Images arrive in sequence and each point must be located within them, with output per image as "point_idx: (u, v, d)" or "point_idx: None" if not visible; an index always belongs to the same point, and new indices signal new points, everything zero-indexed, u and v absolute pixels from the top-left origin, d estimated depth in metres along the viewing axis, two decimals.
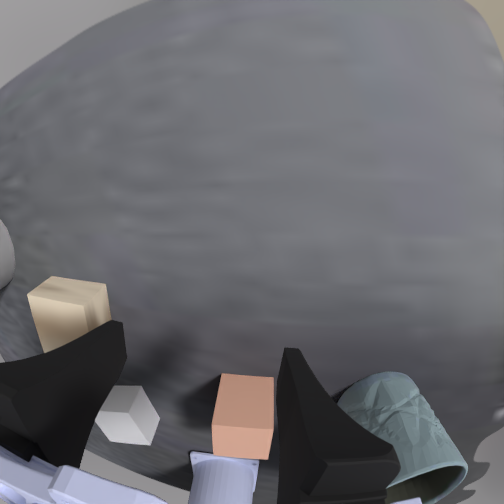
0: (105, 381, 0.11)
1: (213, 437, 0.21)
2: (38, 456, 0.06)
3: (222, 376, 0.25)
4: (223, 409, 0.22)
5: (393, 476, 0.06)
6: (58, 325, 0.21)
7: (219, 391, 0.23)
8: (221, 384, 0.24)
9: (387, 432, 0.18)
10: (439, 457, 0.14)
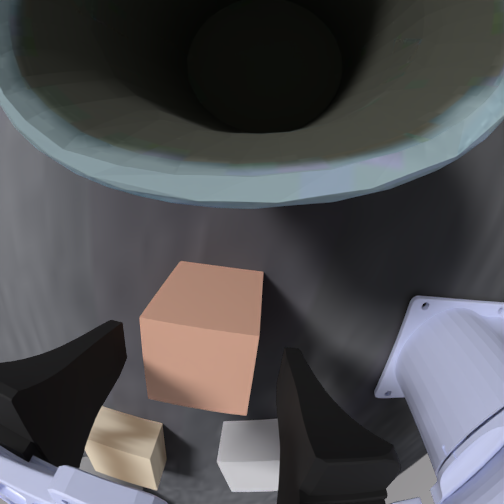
0: (105, 381, 0.11)
1: (184, 405, 0.12)
2: (38, 456, 0.06)
3: None
4: None
5: (393, 475, 0.06)
6: (111, 464, 0.19)
7: None
8: None
9: None
10: None
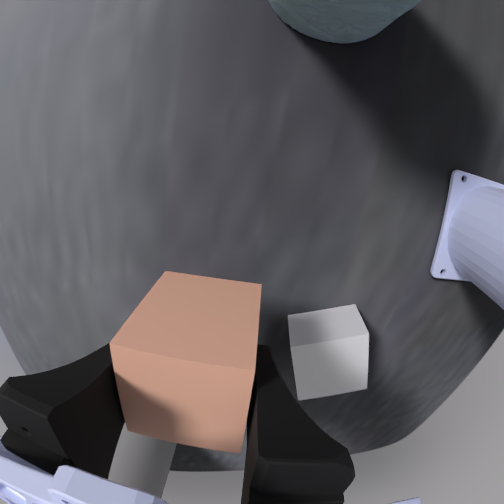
0: None
1: (168, 440, 0.10)
2: None
3: None
4: None
5: (347, 480, 0.06)
6: None
7: None
8: None
9: None
10: None
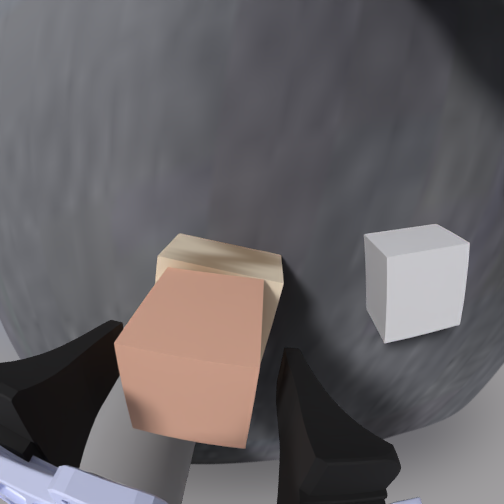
0: (105, 381, 0.11)
1: (173, 436, 0.10)
2: (38, 456, 0.06)
3: None
4: None
5: (393, 475, 0.06)
6: None
7: None
8: None
9: None
10: None
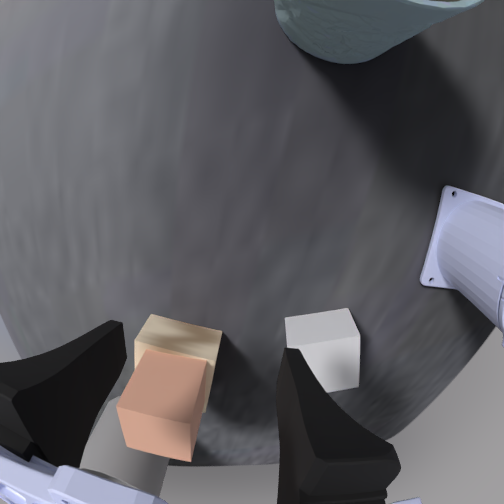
0: (105, 382, 0.11)
1: (150, 452, 0.17)
2: (38, 456, 0.06)
3: None
4: None
5: (393, 476, 0.06)
6: None
7: None
8: None
9: None
10: None
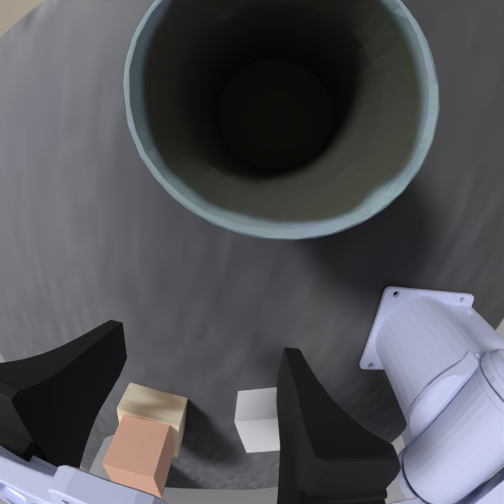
0: (105, 382, 0.11)
1: None
2: (38, 456, 0.06)
3: None
4: None
5: (393, 475, 0.06)
6: None
7: None
8: None
9: None
10: None
